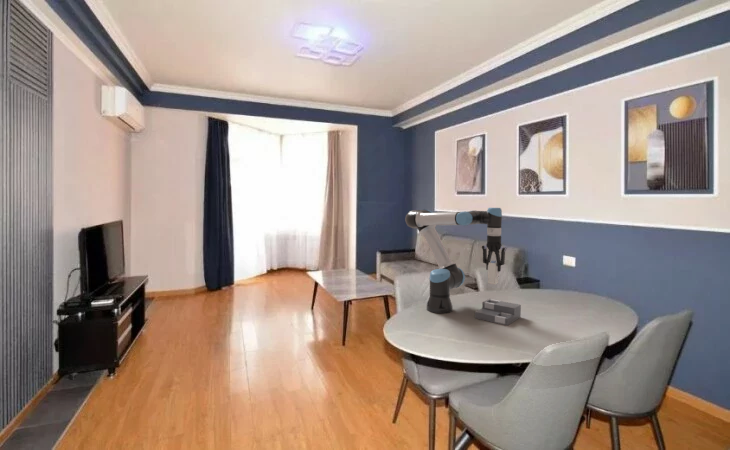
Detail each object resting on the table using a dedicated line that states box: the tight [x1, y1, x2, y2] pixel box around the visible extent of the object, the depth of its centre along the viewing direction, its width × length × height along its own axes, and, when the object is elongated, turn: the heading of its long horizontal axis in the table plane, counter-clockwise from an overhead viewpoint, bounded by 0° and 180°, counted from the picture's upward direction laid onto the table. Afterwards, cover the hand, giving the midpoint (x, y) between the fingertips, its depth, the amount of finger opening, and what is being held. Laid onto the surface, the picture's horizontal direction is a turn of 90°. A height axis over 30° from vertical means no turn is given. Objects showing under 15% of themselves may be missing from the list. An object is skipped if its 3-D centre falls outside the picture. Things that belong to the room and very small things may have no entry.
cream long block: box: [487, 260, 499, 285], centre depth 210 cm, size 4×4×13 cm
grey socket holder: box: [474, 298, 522, 326], centre depth 205 cm, size 18×18×7 cm
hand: (493, 276), depth 210 cm, fingers closed on cream long block, 4 cm apart
